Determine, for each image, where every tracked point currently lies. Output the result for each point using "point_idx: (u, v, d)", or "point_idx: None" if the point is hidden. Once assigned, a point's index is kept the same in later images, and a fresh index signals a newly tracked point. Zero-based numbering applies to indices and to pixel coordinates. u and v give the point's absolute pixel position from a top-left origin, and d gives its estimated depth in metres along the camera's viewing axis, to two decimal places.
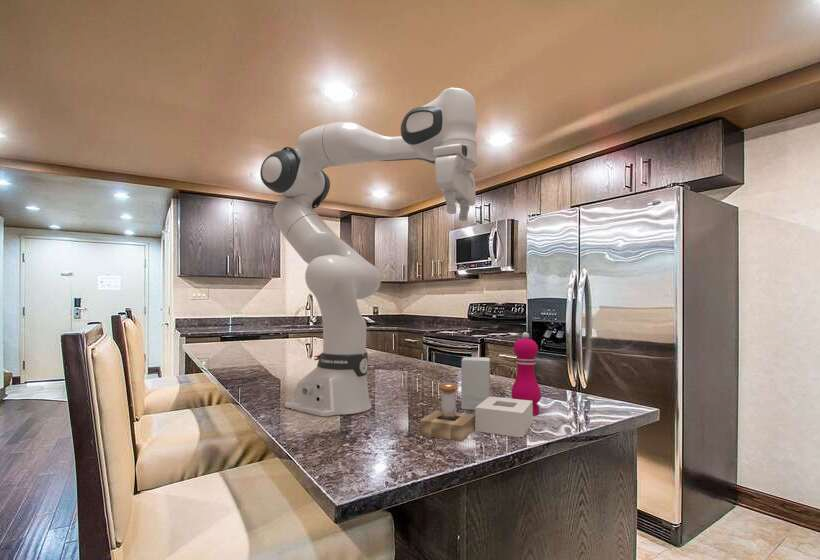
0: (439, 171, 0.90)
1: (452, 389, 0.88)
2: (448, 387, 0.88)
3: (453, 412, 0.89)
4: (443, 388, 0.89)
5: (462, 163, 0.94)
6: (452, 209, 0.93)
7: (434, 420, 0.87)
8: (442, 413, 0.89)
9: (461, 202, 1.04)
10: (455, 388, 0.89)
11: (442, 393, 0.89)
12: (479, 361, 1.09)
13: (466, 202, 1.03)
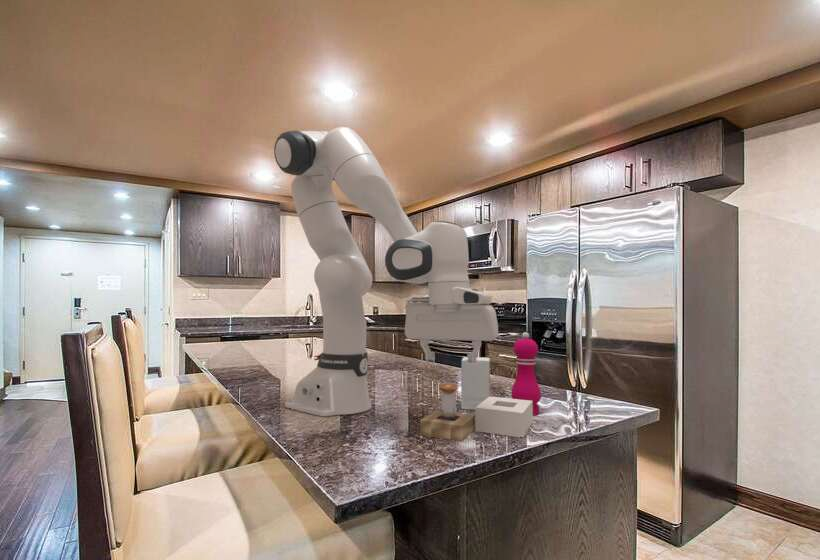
0: (494, 323, 0.85)
1: (452, 389, 0.88)
2: (448, 387, 0.88)
3: (453, 412, 0.89)
4: (443, 388, 0.89)
5: None
6: (475, 358, 0.88)
7: (434, 420, 0.87)
8: (442, 413, 0.89)
9: None
10: (455, 388, 0.89)
11: (442, 393, 0.89)
12: (479, 361, 1.09)
13: None
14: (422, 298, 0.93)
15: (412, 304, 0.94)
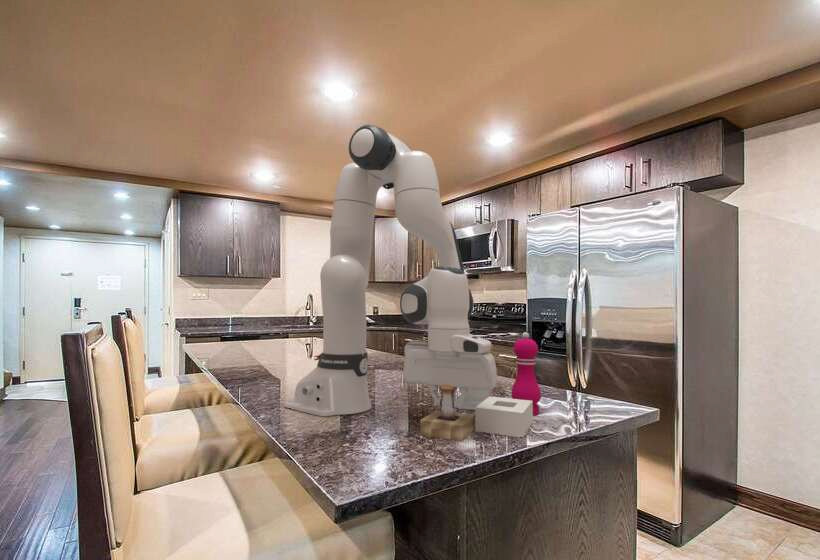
0: (493, 372, 0.85)
1: (452, 389, 0.88)
2: (448, 387, 0.88)
3: (453, 412, 0.89)
4: (443, 388, 0.89)
5: None
6: (462, 405, 0.89)
7: (434, 420, 0.87)
8: (442, 413, 0.89)
9: None
10: (455, 388, 0.89)
11: (442, 393, 0.89)
12: None
13: None
14: (421, 342, 0.93)
15: (411, 347, 0.94)
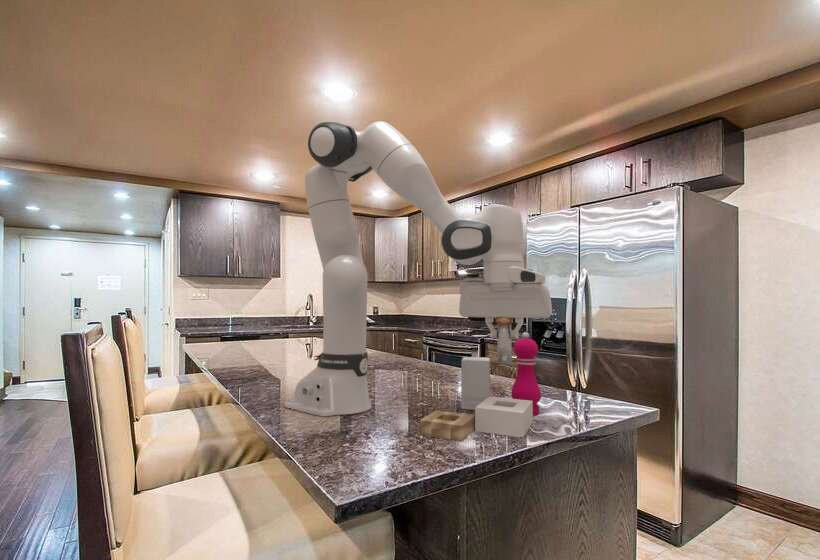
0: (549, 301, 0.89)
1: (509, 321, 0.93)
2: (505, 319, 0.93)
3: (510, 343, 0.93)
4: (500, 320, 0.93)
5: None
6: None
7: (434, 420, 0.87)
8: (499, 345, 0.93)
9: None
10: (511, 320, 0.93)
11: (499, 326, 0.94)
12: (479, 361, 1.09)
13: (493, 317, 0.96)
14: (476, 278, 0.97)
15: (466, 283, 0.98)
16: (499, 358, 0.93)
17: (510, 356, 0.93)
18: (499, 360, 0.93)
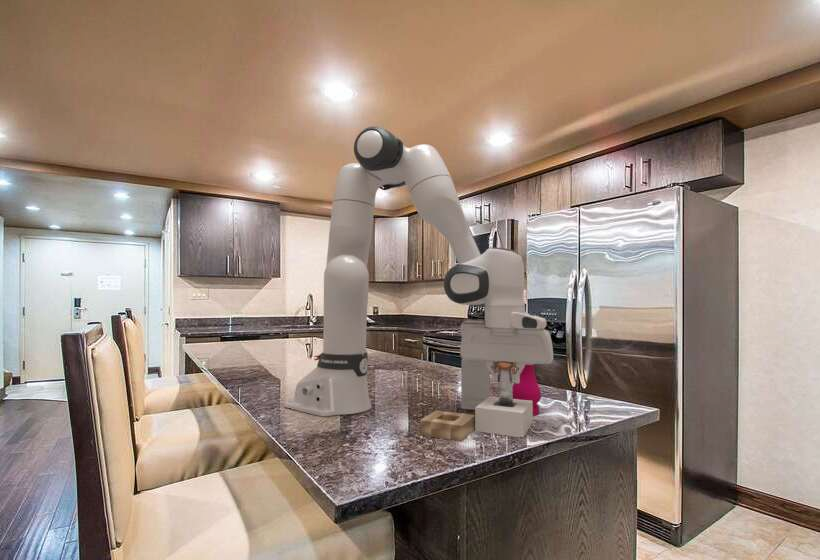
0: (550, 347, 0.89)
1: (510, 366, 0.93)
2: (506, 364, 0.92)
3: (511, 388, 0.93)
4: (501, 365, 0.93)
5: None
6: (519, 379, 0.93)
7: (434, 420, 0.87)
8: (500, 389, 0.93)
9: None
10: (513, 365, 0.93)
11: (500, 370, 0.94)
12: (479, 361, 1.09)
13: None
14: (478, 320, 0.97)
15: (467, 325, 0.98)
16: (500, 402, 0.93)
17: (511, 400, 0.93)
18: (500, 404, 0.93)
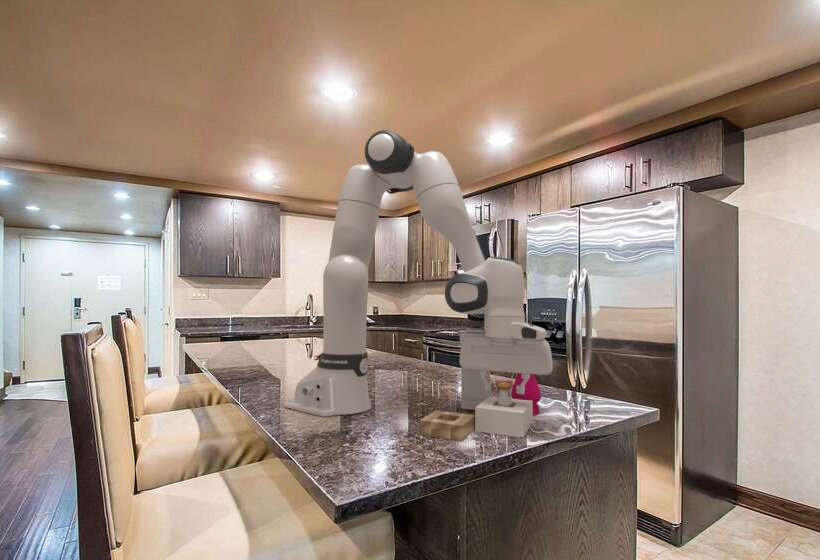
0: (550, 358, 0.89)
1: (509, 386, 0.92)
2: (505, 384, 0.92)
3: None
4: (500, 385, 0.93)
5: None
6: (524, 390, 0.93)
7: (434, 420, 0.87)
8: None
9: None
10: (511, 385, 0.93)
11: (499, 390, 0.93)
12: None
13: None
14: (477, 329, 0.97)
15: (467, 335, 0.98)
16: None
17: None
18: None
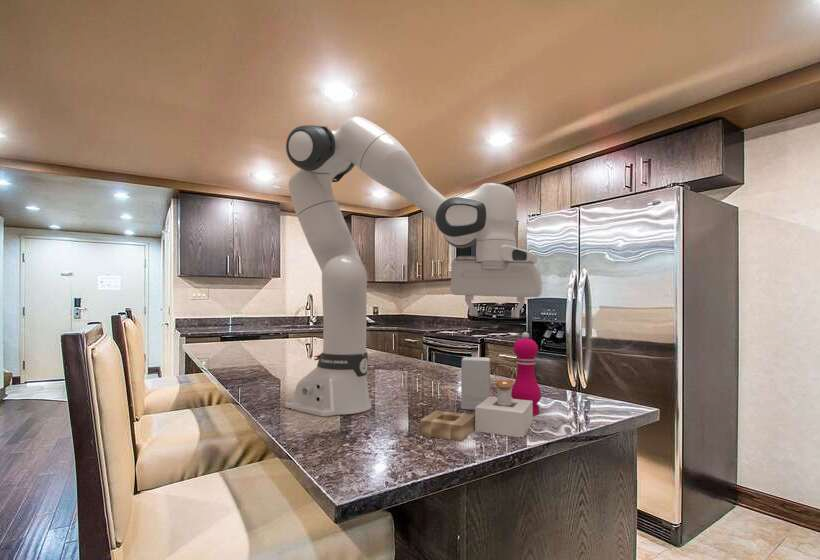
0: (539, 280, 0.90)
1: (509, 386, 0.92)
2: (505, 384, 0.92)
3: None
4: (500, 385, 0.92)
5: None
6: None
7: (434, 420, 0.87)
8: None
9: (471, 295, 0.97)
10: (512, 385, 0.93)
11: (499, 390, 0.93)
12: (479, 361, 1.09)
13: (473, 295, 0.98)
14: (469, 256, 0.98)
15: (458, 262, 0.99)
16: None
17: None
18: None
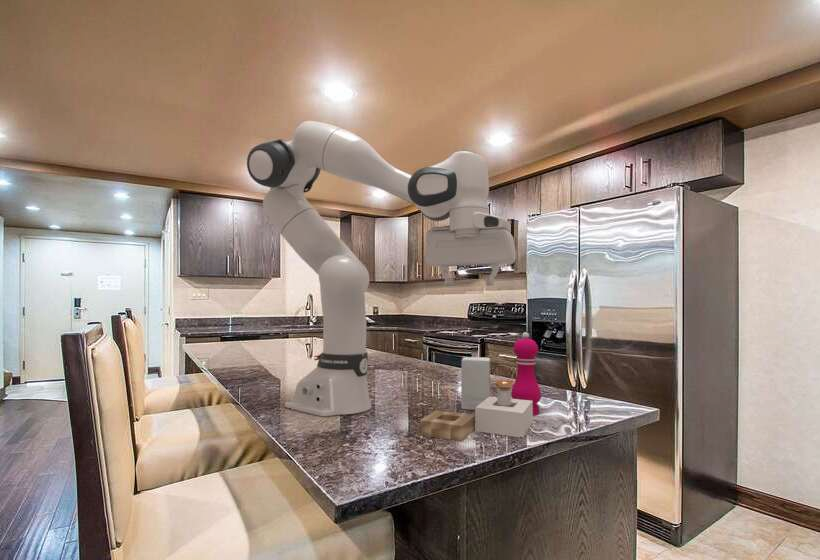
0: (512, 246, 0.90)
1: (509, 386, 0.92)
2: (505, 384, 0.92)
3: None
4: (500, 385, 0.92)
5: None
6: (493, 282, 0.93)
7: (434, 420, 0.87)
8: None
9: (446, 265, 0.96)
10: (511, 385, 0.93)
11: (499, 390, 0.93)
12: (479, 361, 1.09)
13: (448, 266, 0.98)
14: (443, 227, 0.97)
15: (433, 233, 0.98)
16: None
17: None
18: None
